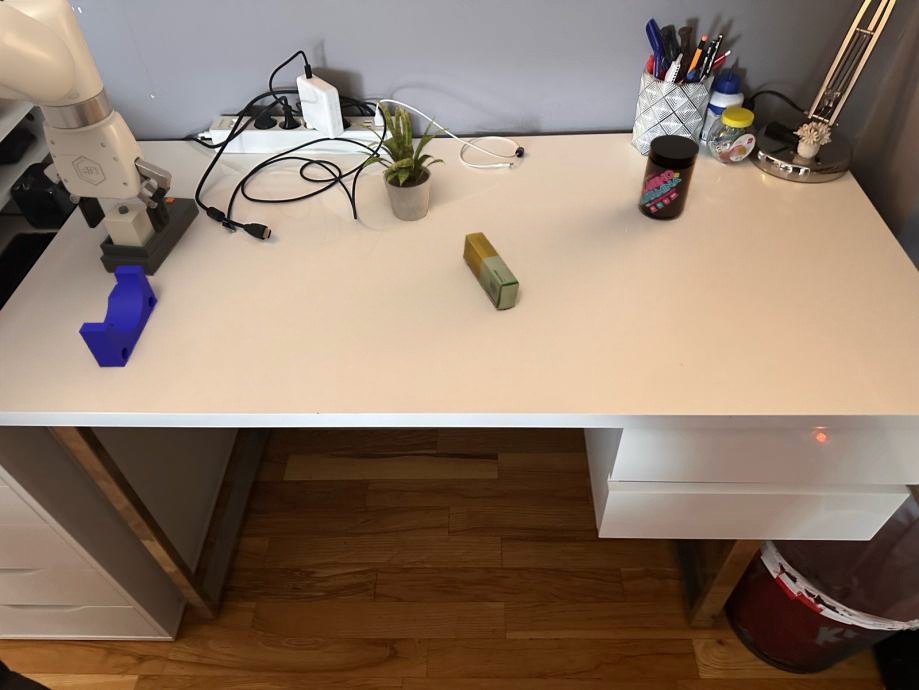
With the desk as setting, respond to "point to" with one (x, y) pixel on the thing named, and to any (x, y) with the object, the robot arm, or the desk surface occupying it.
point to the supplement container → (668, 176)
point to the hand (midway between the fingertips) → (130, 224)
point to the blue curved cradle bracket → (121, 318)
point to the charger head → (129, 224)
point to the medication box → (491, 271)
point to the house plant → (404, 167)
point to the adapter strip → (152, 240)
